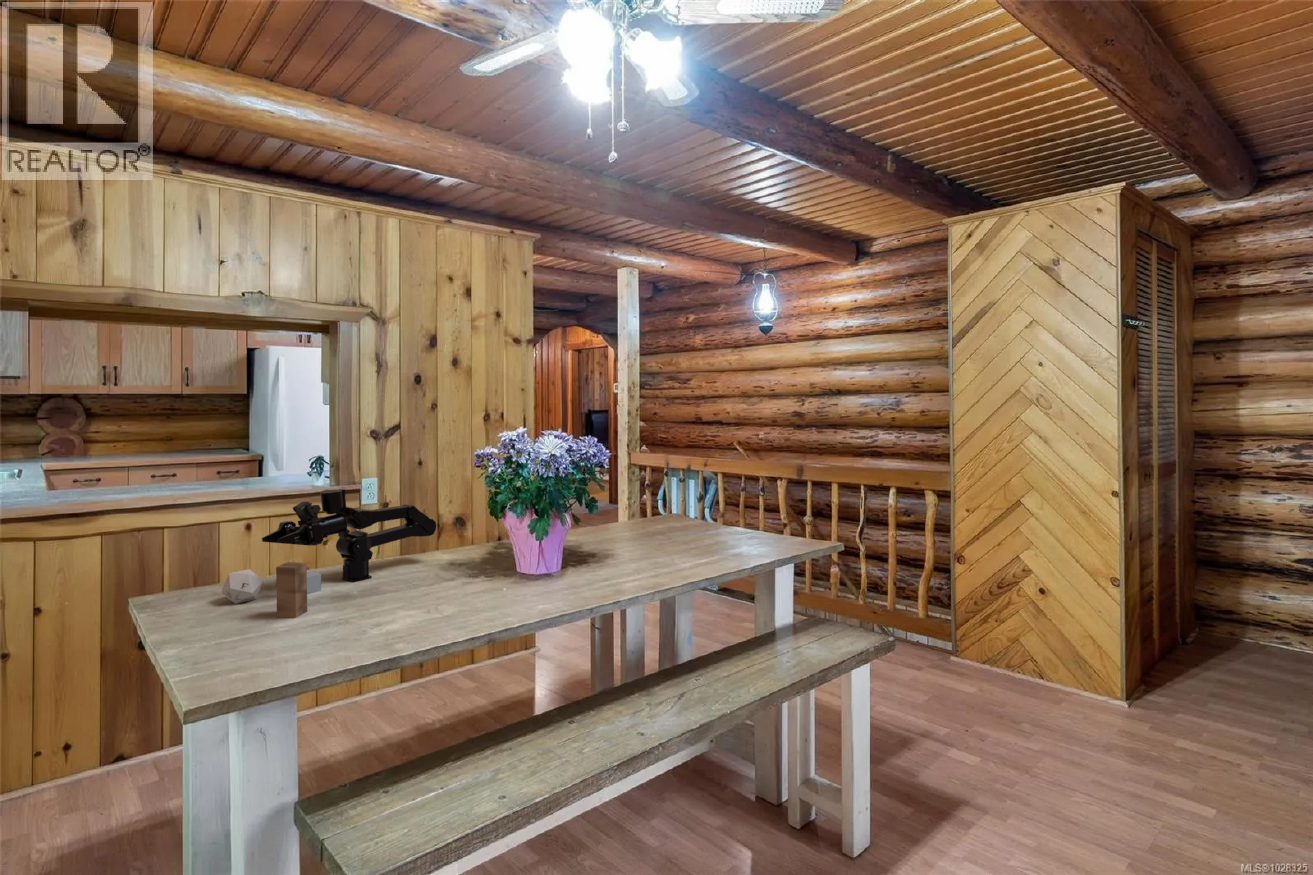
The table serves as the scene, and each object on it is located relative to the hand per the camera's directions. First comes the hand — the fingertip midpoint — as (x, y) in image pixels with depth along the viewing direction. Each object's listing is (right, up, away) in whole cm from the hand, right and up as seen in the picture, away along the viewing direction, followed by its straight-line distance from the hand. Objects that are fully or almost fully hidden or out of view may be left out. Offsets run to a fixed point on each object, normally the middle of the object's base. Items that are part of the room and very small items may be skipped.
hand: (270, 540), depth 183 cm
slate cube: (+6, -16, +8) cm, 19 cm away
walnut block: (+12, -17, -12) cm, 24 cm away
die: (-7, -16, -1) cm, 18 cm away
